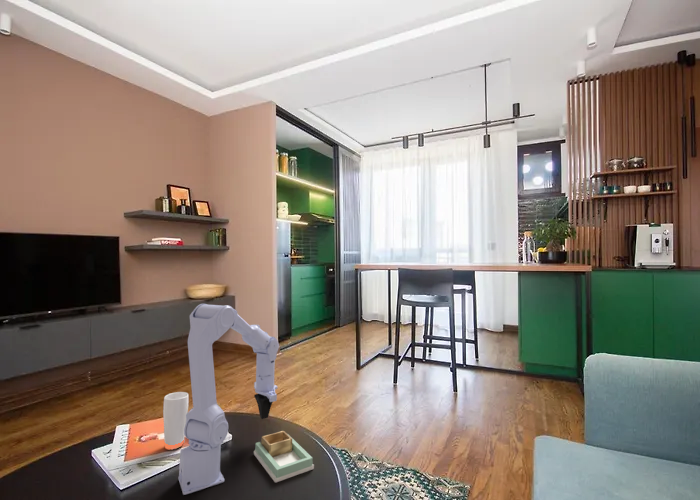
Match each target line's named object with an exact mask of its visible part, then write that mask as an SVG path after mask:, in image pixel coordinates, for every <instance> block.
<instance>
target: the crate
mask: <svg viewBox="0 0 700 500" xmlns="http://www.w3.org/2000/svg"><path fill="white" fill-rule="evenodd" d="M291 437H292V436H291V435H290V434H289V433H287V432H286V430H285V431H284V430H281V431H277V432H274V433H271V434H266V435H262V436H261V441H260V443H261V444H262V446H263V447H264V448H265V449H266V450H267V452H268V453H269V454H270V455H271V456H272V457H275V456H278V455H281V454H285V453H288V452H291V451H292V438H293V437H292V438H291Z"/></svg>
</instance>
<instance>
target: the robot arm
mask: <svg viewBox="0 0 700 500" xmlns="http://www.w3.org/2000/svg"><path fill="white" fill-rule="evenodd" d="M189 325H190V326H189V327H190V329H189V332H188V337H187V349H188V350H187V351H188V363H189V364H188V365H189V372H190V374H189V375H190V383H191V384H190V385H191V396H192V397H191V398H192V407H191V408H190V410H188V413H187V414H186V424H185V428H184V435H185V437H184V438H186V439H188V446H186V447H184V448H180V451H179V453H180V454H179V466H178V467H179V468H178V471H179V472H178V478H177V479H178V481H179V485H180V489H181V491H182V495H183V496H184V495H189V494H192V493H195V492H198V491H202V490H204V489H206V488H209V487H213V486H216V485H219V484H222V483H224V482H225V478H224V475H223V474H222V472H221V448H222V447H221V446H222V444H223V443H224V441H225V440H226V439H227V436H228V433H229V423H228V420H227V419H226V415H225V414H226V413H225V411H224V410H223V409H222V408H221V407H220V405H218V401H217V389H216V378H215V365H214V353H213V344H214V342H216V341H218V340H219V339H221V337H222V336H224V334H226V333H227V331H229V330H230V329H231V330H233V331H235V332H236V333H238V334H240V335H241V339H242V341H243V342H244V343H245V344H247V345H249V346H250V347H251V348H252V350H253V351H252V352H253V353H254V354H256V365H255V367H256V368H255V370H256V371H255V382H253V388H254V391H255V393H256V394H254V396H253V397H254V399H255V402H256V403H257V404H256V405H257V407H258V414H259V417H260V419H261V420H264V419H268V418H269V415H270V411H271V407H272V405H273V402H277V400H278V394H277V393H276V390H277V389H278V388H279V386H278V385H276V384H275V368H276V366H275V365H276V360H277V356H278V351H279V348H280V343H279V340H278V338H277V337H275V336H271V335H269V333H268V332H267V331H264V330H263V329H261V325H259V324H249V323H248V322H247V321H246V320H245V319H244V318H242V316H240V315H239V314H238V310H236V309H235V308H234V307H232V306H231V305H227V304H226V305H220V304H219V305H218V304H207V303H200V304H198V305H197V306H196V307H195V308H194V309H193V310H192V311H191V313H190V314H189Z"/></svg>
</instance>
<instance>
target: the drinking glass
mask: <svg viewBox="0 0 700 500" xmlns="http://www.w3.org/2000/svg"><path fill="white" fill-rule="evenodd" d="M189 403H190V402H189V393H188V392H186V391H177V392H176V391H175V392H172V393H168V394H166V395H165V396H164V398H163V410H162V413H163V418H162V419H163V435H164V438H163V439H164V442H165V443H166V444H168V445H175V444H178V443H181V442H182V441H183V440H184V441H185V438H186V437H185V435H184V428H185V424H186V414H187V413H188V412H189Z"/></svg>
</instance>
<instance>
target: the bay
mask: <svg viewBox="0 0 700 500" xmlns="http://www.w3.org/2000/svg"><path fill="white" fill-rule="evenodd" d="M290 437H291V438H292V451H291V452H288V453H285V454H281V455H278V456H275V457H272V456H271V455H270V454H269V453H268V452H267V450H266V449H265V448H264V447H263V446H262V444H261V441H258V442H255V447H254V448H255V449H254V450H253V455H254V456H255V458H256V459H257V460H258V462H259V464H261V465H262V467H263V468H264V470H265V471H266V473H267V474H268V475H269V477H270V478H271V479H272V480H273V482H274V483H278V482H281V481H284V480H287V479H289V478H292V477H295V476H297V475H300V474H303V473H306V472H309V471H311V470H314V469H315V464H313V463H314V459H313V456H311V455H310V454H309V453H308V451H306V450H305V449H304V448H303V447H302V446H301V445H300V444H299V443H298V442H297V441H296V440H295V439H294V438H293V437H292V436H290Z"/></svg>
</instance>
